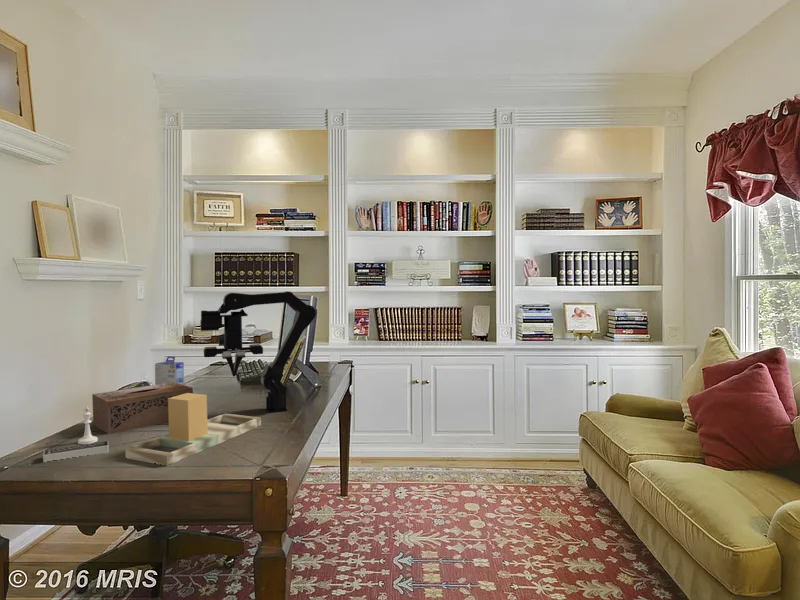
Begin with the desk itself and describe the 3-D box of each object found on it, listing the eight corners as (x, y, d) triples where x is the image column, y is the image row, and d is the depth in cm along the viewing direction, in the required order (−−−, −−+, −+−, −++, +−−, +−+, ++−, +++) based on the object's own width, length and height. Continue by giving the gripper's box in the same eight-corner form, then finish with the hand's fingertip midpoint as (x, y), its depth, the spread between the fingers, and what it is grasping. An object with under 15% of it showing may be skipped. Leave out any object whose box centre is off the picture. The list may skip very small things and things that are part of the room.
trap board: (225, 421, 168) (225, 413, 167) (261, 425, 162) (260, 417, 162) (125, 458, 133) (125, 448, 133) (166, 465, 128) (166, 455, 128)
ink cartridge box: (185, 391, 211) (184, 356, 211) (176, 394, 206) (175, 358, 205) (163, 390, 213) (162, 355, 213) (154, 393, 208) (153, 357, 207)
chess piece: (80, 439, 149) (79, 405, 149) (100, 438, 150) (99, 403, 150) (75, 445, 144) (74, 409, 144) (94, 443, 146) (93, 408, 145)
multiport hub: (109, 453, 138) (108, 445, 138) (43, 464, 131) (42, 455, 131) (108, 449, 142) (108, 440, 142) (44, 459, 135) (44, 450, 134)
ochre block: (188, 431, 148) (187, 392, 148) (207, 433, 146) (206, 394, 145) (169, 438, 142) (168, 398, 141) (188, 441, 139) (187, 400, 139)
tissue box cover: (175, 410, 183) (174, 381, 183) (193, 417, 173) (192, 387, 173) (93, 425, 164) (92, 394, 164) (108, 434, 154) (107, 401, 154)
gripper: (258, 326, 186) (259, 370, 187) (202, 329, 179) (203, 374, 179) (262, 329, 176) (263, 375, 176) (203, 332, 168) (204, 379, 169)
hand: (234, 376), depth 176 cm, fingers closed
